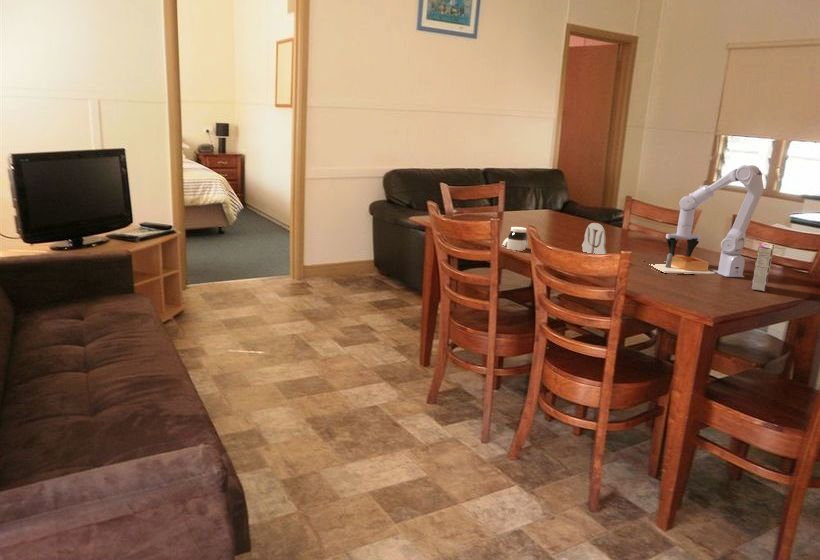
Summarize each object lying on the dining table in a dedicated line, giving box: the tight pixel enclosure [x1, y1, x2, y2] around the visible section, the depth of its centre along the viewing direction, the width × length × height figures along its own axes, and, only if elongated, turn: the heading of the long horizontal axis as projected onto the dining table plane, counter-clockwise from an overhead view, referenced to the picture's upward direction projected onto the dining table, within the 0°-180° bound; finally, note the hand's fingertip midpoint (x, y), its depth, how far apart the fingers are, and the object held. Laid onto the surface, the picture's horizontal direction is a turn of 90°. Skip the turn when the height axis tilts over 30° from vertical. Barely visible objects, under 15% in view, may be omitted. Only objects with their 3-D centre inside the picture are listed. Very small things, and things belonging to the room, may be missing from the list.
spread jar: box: [502, 226, 529, 250], centre depth 276 cm, size 12×11×12 cm
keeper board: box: [649, 252, 716, 275], centre depth 261 cm, size 20×22×7 cm
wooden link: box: [671, 254, 710, 271], centre depth 262 cm, size 15×10×4 cm, turn 6°
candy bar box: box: [750, 242, 775, 292], centre depth 234 cm, size 11×5×16 cm, turn 148°
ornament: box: [581, 222, 607, 255], centre depth 265 cm, size 22×13×17 cm, turn 15°
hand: (679, 255), depth 268 cm, fingers open, 7 cm apart
